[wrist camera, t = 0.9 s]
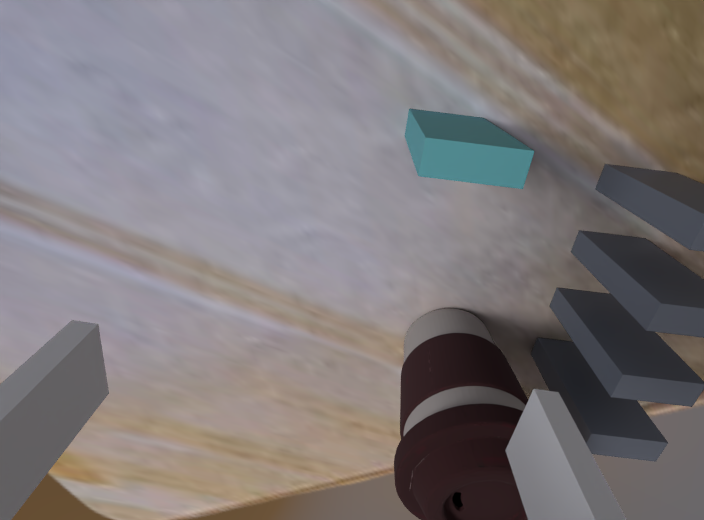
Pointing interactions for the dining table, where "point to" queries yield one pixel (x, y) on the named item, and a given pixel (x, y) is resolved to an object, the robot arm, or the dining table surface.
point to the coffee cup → (457, 422)
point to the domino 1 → (465, 149)
